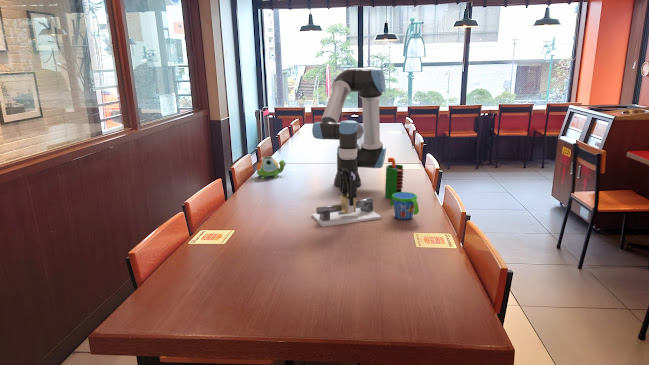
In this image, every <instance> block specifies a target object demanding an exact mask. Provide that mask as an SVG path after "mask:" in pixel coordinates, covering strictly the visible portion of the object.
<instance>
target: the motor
mask: <svg viewBox="0 0 649 365" xmlns="http://www.w3.org/2000/svg"><path fill="white" fill-rule="evenodd" d="M387 163H391V164H388V165H386V167H385V169H386V170H385V185H384V186H385V187H384V188H385V190H384V197H385V199H388V200H391V197H392V194H394V193H397V192H403V191H402V190H403V184H404V183H403V182H404V176H403V175H404V165H403V164H397V163H396V160H395V158H394V157H388V158H387Z"/></svg>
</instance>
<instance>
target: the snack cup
mask: <svg viewBox="0 0 649 365" xmlns="http://www.w3.org/2000/svg"><path fill="white" fill-rule="evenodd" d="M417 199H418V195H417V194H416V193H413V192H410V191H409V192H408V191H401V192H397V193H394V194H392V197H391V199H390V202H389V203H390V206H391V207H393V210H394V216H395V218H397V219H399V220H410V219H412V218H413V215H417V214H419V205H418V200H417Z"/></svg>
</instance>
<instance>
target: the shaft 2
mask: <svg viewBox="0 0 649 365" xmlns="http://www.w3.org/2000/svg"><path fill="white" fill-rule="evenodd" d="M356 208H360V210H363V211H366V212H371V211H374V200H373V198H372V197H366V198H362V199H359V200H356Z"/></svg>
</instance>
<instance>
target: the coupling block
mask: <svg viewBox="0 0 649 365" xmlns="http://www.w3.org/2000/svg"><path fill="white" fill-rule="evenodd" d="M347 197H348V193H347V194H343V195H342V194H340V205H341V207H342V212H344V213H347ZM356 199H357V197H356V198H354V212H356V201H357V200H356ZM352 213H353V212H352Z"/></svg>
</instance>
